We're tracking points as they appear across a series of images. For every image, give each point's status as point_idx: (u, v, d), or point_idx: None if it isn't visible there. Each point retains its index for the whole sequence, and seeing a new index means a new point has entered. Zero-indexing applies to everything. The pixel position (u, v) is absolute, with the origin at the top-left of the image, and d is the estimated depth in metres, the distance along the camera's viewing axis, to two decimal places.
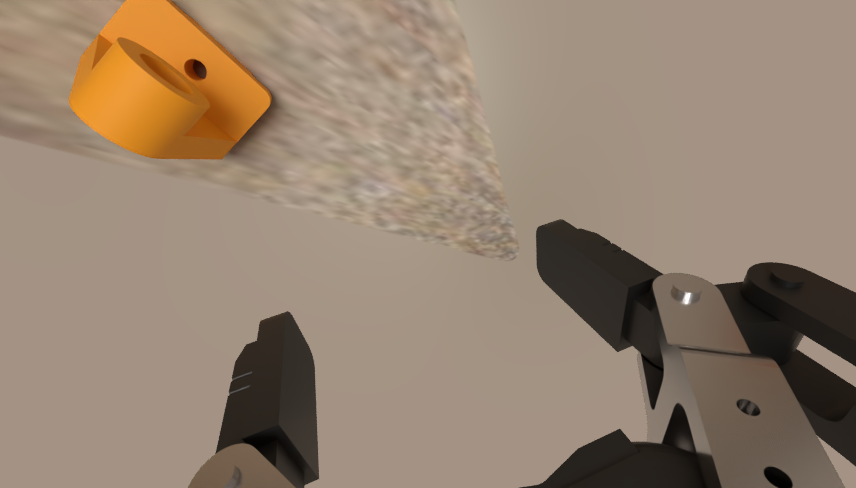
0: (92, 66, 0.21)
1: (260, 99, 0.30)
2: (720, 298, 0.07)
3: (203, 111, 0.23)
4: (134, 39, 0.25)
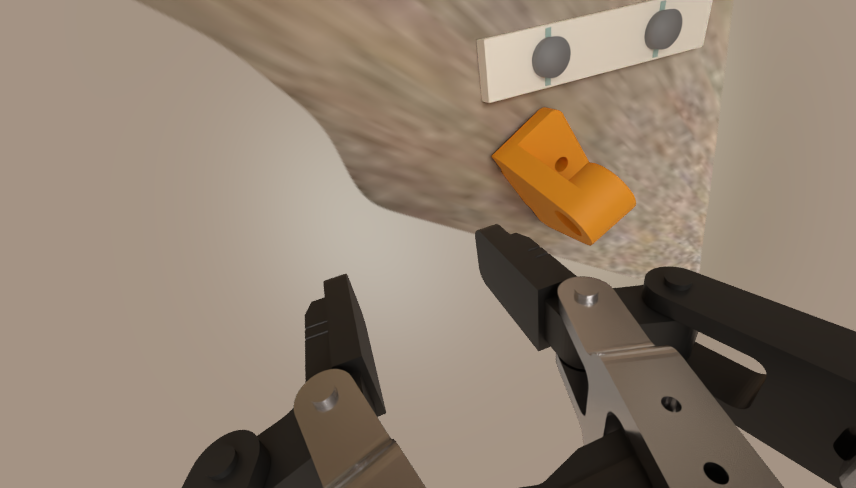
0: (573, 184, 0.28)
1: None
2: (614, 300, 0.07)
3: None
4: (535, 146, 0.33)
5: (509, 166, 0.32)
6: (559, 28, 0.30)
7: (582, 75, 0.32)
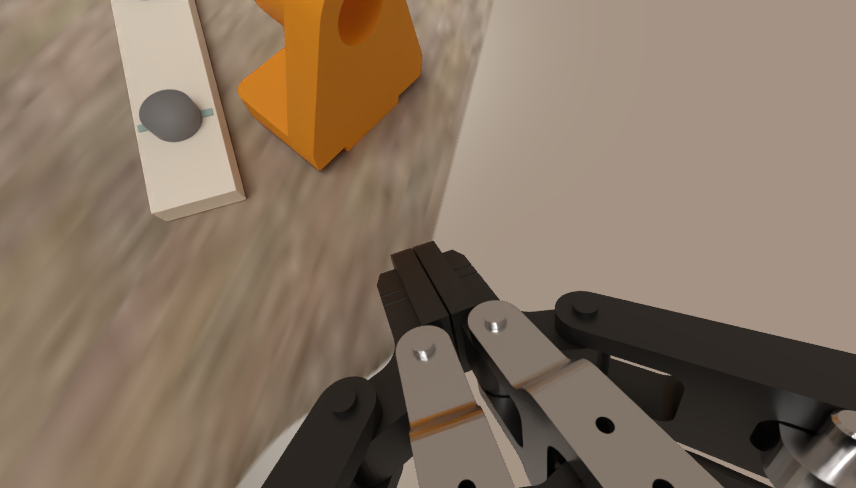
0: (285, 23, 0.16)
1: None
2: (519, 327, 0.07)
3: None
4: None
5: (312, 141, 0.21)
6: None
7: (200, 66, 0.24)
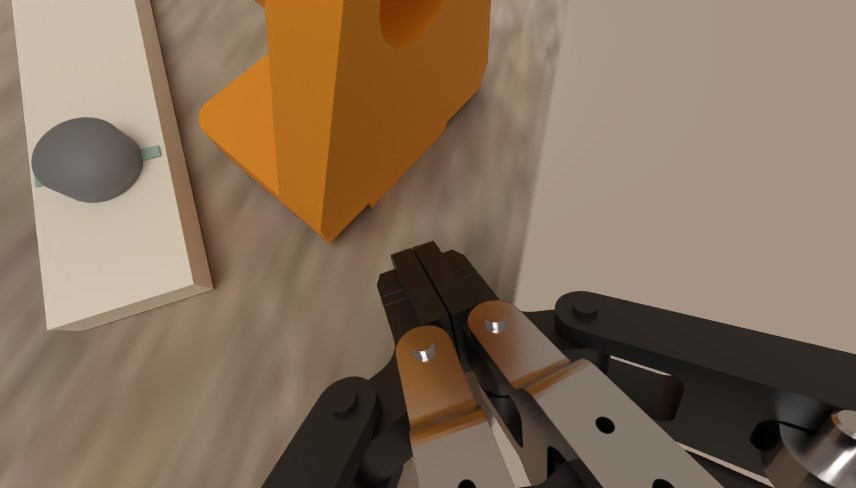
0: None
1: None
2: (519, 327, 0.07)
3: None
4: None
5: (319, 210, 0.12)
6: None
7: (144, 79, 0.15)
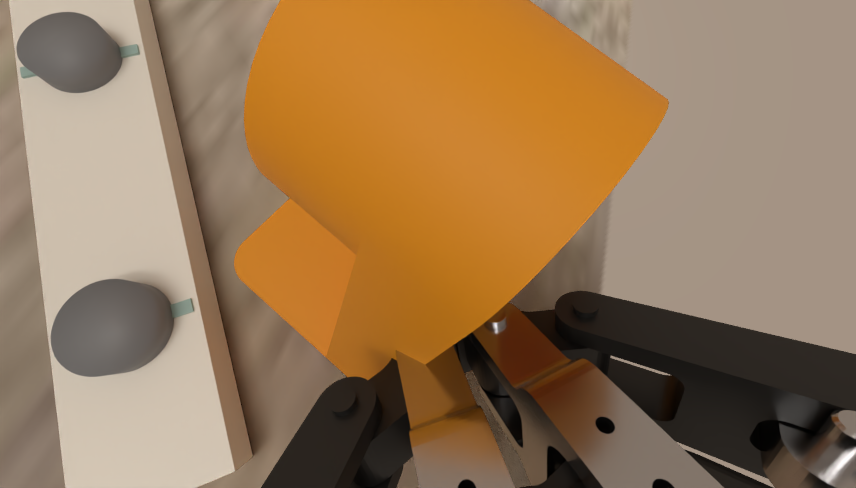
0: (355, 266, 0.06)
1: None
2: (519, 327, 0.07)
3: None
4: (329, 296, 0.12)
5: None
6: None
7: (172, 215, 0.14)
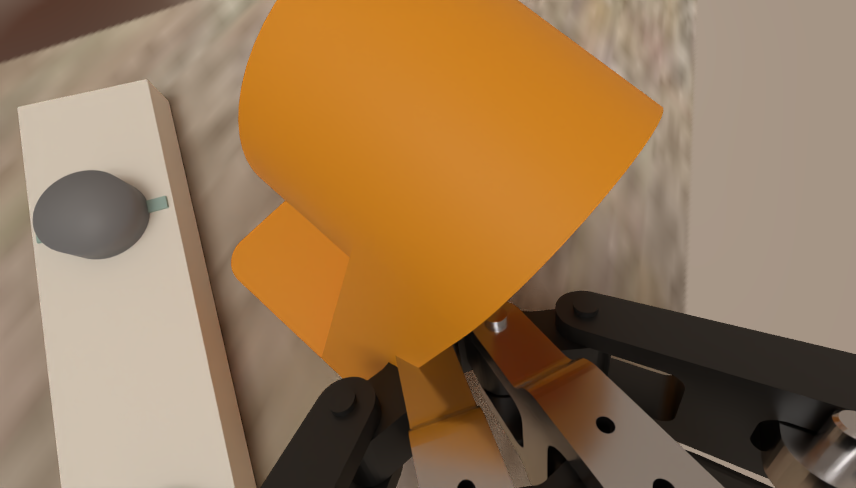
0: (348, 269, 0.06)
1: None
2: (520, 327, 0.07)
3: None
4: (326, 297, 0.12)
5: None
6: None
7: (210, 411, 0.12)
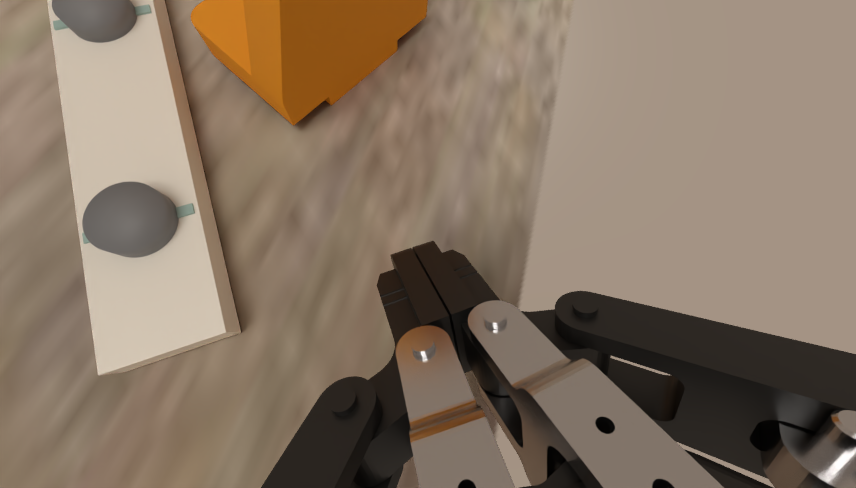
0: None
1: None
2: (519, 327, 0.07)
3: None
4: None
5: (280, 79, 0.16)
6: None
7: (177, 140, 0.17)
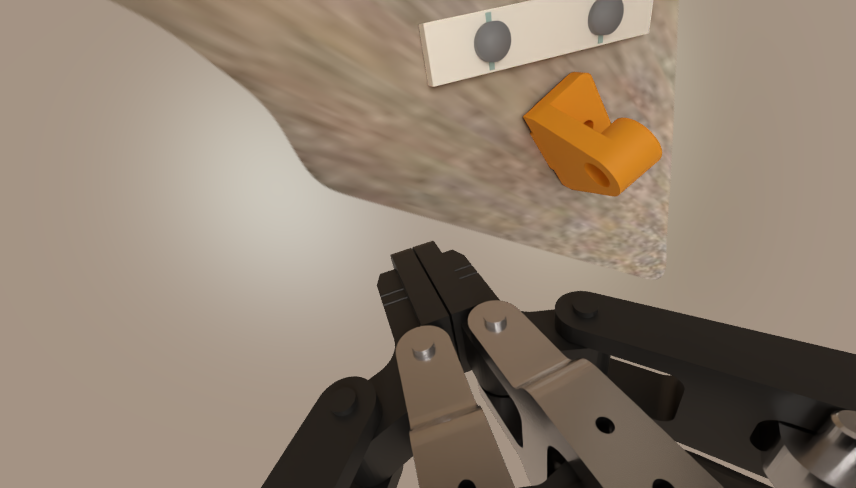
0: (604, 136, 0.31)
1: None
2: (519, 327, 0.07)
3: None
4: (565, 107, 0.36)
5: (541, 123, 0.34)
6: (499, 13, 0.31)
7: (527, 60, 0.33)
